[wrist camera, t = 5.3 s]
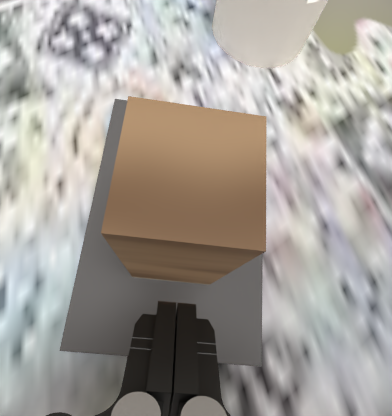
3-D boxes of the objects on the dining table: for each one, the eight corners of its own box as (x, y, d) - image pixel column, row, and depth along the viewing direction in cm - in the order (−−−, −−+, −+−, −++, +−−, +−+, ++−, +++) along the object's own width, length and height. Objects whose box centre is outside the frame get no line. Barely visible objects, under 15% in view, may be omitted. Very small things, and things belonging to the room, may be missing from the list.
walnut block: (143, 204, 21) (128, 96, 10) (214, 212, 21) (266, 116, 11) (132, 277, 19) (100, 233, 9) (209, 284, 19) (265, 251, 9)
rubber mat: (116, 103, 24) (115, 98, 23) (260, 124, 25) (263, 120, 24) (62, 349, 18) (59, 350, 17) (258, 364, 19) (261, 366, 18)
